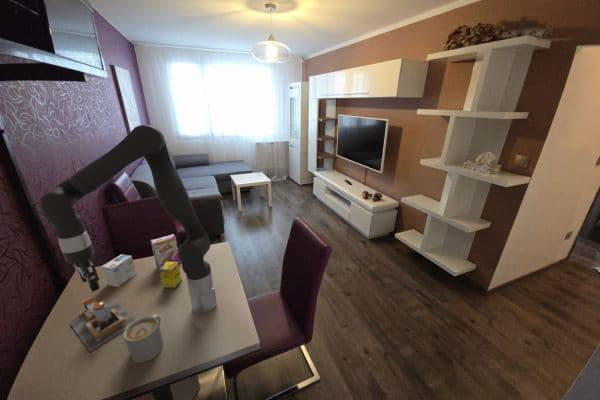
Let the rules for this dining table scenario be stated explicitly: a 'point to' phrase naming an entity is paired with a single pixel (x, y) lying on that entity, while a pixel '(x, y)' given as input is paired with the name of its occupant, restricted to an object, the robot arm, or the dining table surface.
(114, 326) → the dock
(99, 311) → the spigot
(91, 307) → the pin
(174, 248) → the candy bar box
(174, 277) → the supplement box
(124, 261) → the light bulb box
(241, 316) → the dining table surface
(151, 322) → the coffee mug
